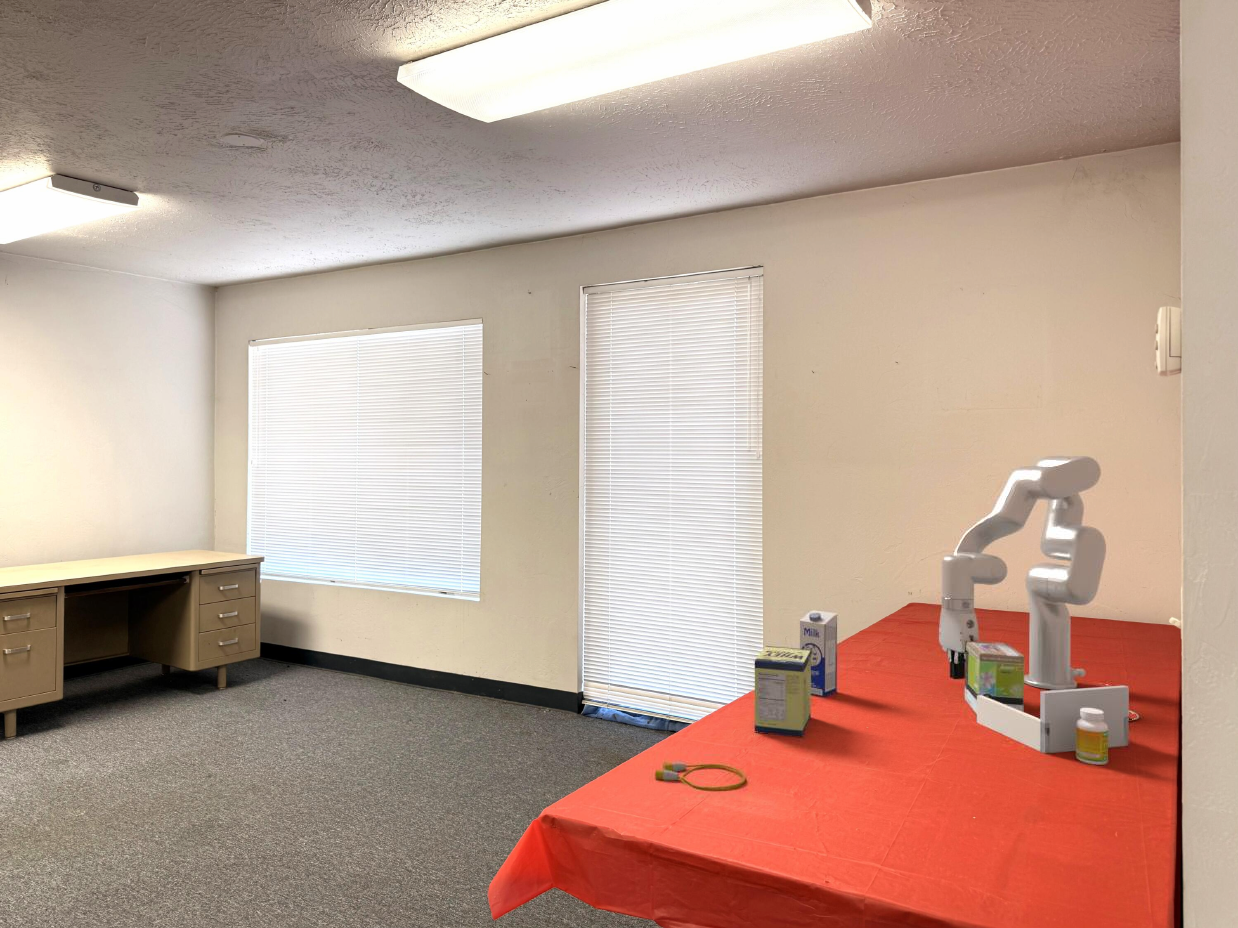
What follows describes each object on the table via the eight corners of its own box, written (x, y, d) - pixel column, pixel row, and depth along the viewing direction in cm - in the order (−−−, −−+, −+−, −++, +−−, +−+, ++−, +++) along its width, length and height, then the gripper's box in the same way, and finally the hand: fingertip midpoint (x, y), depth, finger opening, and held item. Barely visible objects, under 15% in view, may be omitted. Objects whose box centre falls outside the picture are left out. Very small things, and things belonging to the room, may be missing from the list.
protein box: (811, 717, 186) (811, 648, 186) (803, 738, 172) (803, 664, 172) (765, 712, 190) (765, 644, 190) (753, 732, 175) (753, 659, 175)
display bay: (1053, 716, 188) (1054, 663, 188) (1128, 745, 168) (1128, 686, 168) (976, 722, 183) (977, 668, 183) (1044, 753, 163) (1044, 693, 163)
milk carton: (837, 691, 207) (837, 612, 207) (824, 697, 202) (824, 616, 202) (812, 686, 212) (812, 609, 212) (798, 691, 207) (799, 612, 207)
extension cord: (682, 760, 160) (682, 750, 160) (756, 778, 151) (756, 767, 151) (647, 779, 150) (647, 768, 150) (725, 800, 141) (725, 789, 141)
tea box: (1025, 721, 184) (1025, 655, 184) (977, 718, 186) (977, 653, 186) (1007, 702, 199) (1008, 641, 199) (963, 699, 201) (963, 639, 201)
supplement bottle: (1107, 767, 156) (1107, 716, 156) (1075, 761, 159) (1075, 711, 159) (1108, 758, 161) (1108, 709, 161) (1076, 753, 164) (1077, 704, 164)
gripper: (990, 609, 199) (990, 685, 199) (951, 599, 214) (951, 670, 214) (964, 610, 197) (963, 686, 197) (926, 600, 212) (926, 671, 212)
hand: (957, 678), depth 205 cm, fingers closed
